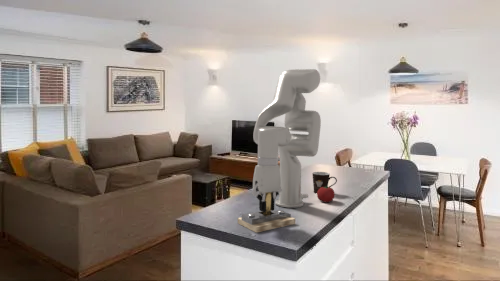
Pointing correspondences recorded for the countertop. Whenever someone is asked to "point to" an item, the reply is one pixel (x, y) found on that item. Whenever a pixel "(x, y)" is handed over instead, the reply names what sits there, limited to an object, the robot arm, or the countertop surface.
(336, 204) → the countertop surface
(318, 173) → the coffee mug
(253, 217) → the plate
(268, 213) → the brass pin
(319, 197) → the tomato
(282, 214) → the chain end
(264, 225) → the board
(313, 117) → the robot arm
